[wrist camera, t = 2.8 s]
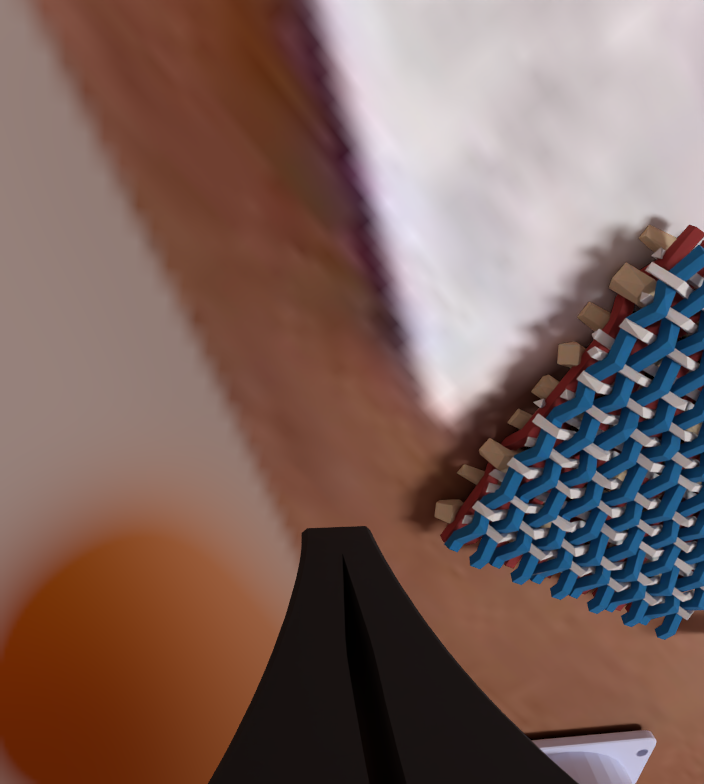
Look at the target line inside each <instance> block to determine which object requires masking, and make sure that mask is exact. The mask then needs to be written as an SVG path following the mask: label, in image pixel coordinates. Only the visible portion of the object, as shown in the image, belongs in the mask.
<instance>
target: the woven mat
mask: <svg viewBox="0 0 704 784" xmlns="http://www.w3.org/2000/svg"><path fill="white" fill-rule="evenodd" d="M703 237H704V232H702V231H701V230H700V229H698V228H697V227H695V226H692V225H689V226H688V227H687V228H686V229H685V230H684V231H683V232H682V233H681V235H680V236H679V237H678V238H676V237H674V236H672V235H670V234H668V233H666V232H663V231H661V230H659V229H657V228H655V227H653V226H651V225H649V226H648V227H647V228H646V229H645V231H644V232H643V233H642V235H641V236H640V237H639V238H638V239H639V240H640V241H642V242H643V243H644V244H645V245H646V246H647V247H648V248H649V249H651V250H652V251H653V252H654V254H652V255H651V256H652V257H653V258H655V259H656V260H655V261H654V262H651V263H650V264H649V265H647V266H646V267H644V268H642V269H641V270H638V269H636V268H635V267H633V266H631V265H630V264H628V263H627V262H626V263H625V264H624V265H623V266H622V268H621V269H620V270H619V271H618V272H617V273H616V274H615V275H614V277H613V278H612V280H611V283H610V286H609V289H611V290H613V291H614V292H616V293H618V294H617V296H616V298H615V301H614V305H613V308H612V312H611V313H610V312H608V311H606V310H604V309H603V308H601V307H599V306H597V305H595V304H593V303H591V302H588V304H587V305H586V306H585V307H584V309H583V310H582V311H581V313H580V314H579V315H578V317H577V318H578V319H580V320H581V321H582V322H583V323H584V324H586V325H587V326H588V327H589V328H590V329H592V330H593V331H595V332H594V333H592V336H593V338H594V340H593V341H592V343H591V344H590V345H589V346H588V347H587V349H586V348H585V347H583V346H581V345H580V344H578V343H577V342H569V343H563V344H559V348H558V360H557V364H560V365H563V366H566V367H569V368H571V369H570V370H569V371H568V372H567V373H566V375H565V376H564V377H563V378H562V380H561V381H560V382H559V381H558V380H556V379H555V378H553V377H552V376H550V375H547V376H543V377H542V378H541V379H540V381H539V382H538V383H537V385H536V386H535V387H534V388H533V390H532V391H531V392H532V393H533V394H535V395H536V396H538V397H539V398H540V399H541V400H538V401H536V402H533V403H535V404H536V405H537V406H538V407H539V408H538V409H537V411H536V412H535V413H534V414H533V415H531V414H529V413H527V412H525V411H523V410H520V409H517V411H516V412H515V413H514V414H513V416H512V417H511V418H510V420H509V421H508V422H507V423H509V424H510V425H512V426H514V427H516V428H518V429H520V430H519V431H517V432H515V433H513V434H511V435H509V436H507V437H506V438H505V439H504V440H503V441H502V442H501V444H499V443H498V442H496V441H494V440H493V439H491V438H489V439H488V440H487V441H486V442H485V443H484V445H483V446H482V447H481V448H480V449H479V453H480V455H481V456H483V457H484V458H485V459H486V460H487V461H488V463H487V467H486V470H485V471H483V470H480V469H477V468H474V467H471V466H468V465H465V464H464V465H463V466H462V467H461V468H460V470H459V471H458V472H457V474H459V475H460V476H462V477H464V478H465V479H467V480H469V481H471V482H472V483H474V484H476V487H475V488H474V490H473V491H472V492H471V494H470V495H469V496H468V498H467V499H466V501H465V502H462V501H461V500H459V499H449V500H439V501H438V502H436V508H435V516H434V517H436V518H438V519H440V520H443V521H445V522H447V523H449V524H448V525H447V527H446V528H445V530H444V531H443V532H442V534H441V535H440V536H441V538H442V540H443V542H445V545H446V546H447V547H448V548H449V549H450V550H453V551H456V552H458V551H459V549H460V548H461V547H462V546H463V544H467V545H470V544H474V543H477V542H478V541H479V540H480V539H481V538H482V539H481V541H480V544H479V546H478V549H477V551H476V552H475V553H474V554H473V555H471V556H470V557H469V558H470V566H472V567H475V568H478V569H481V568H482V567H484V566H485V565H486V564H487V563H488V562H489V563H490V564H491V565H492V566H494V567H497V568H499V569H500V568H501V566H502V565H503V563H504V564H505V566H508V567H511V568H514V567H515V565H516V564H517V563H518V561H519V560H520V559H521V557H522V559H521V561H520V564H519V566H518V568H517V569H516V570H514V571H513V572H512V573H511V578H512V582H514V583H517V584H520V585H522V584H523V583H525V582H526V581H527V580H529V579H530V580H531V581H533V582H535V583H538V584H540V583H541V582H542V581H543V579H544V578H545V577H548V578H551V575H553V574H556V573H559V572H562V573H561V575H560V577H559V580H558V582H557V584H556V585H554V586H553V587H552V588H550V590H551V595H552V597H554V598H557V599H560V600H561V599H563V598H564V597H566V596H567V595H570V596H571V597H574V598H576V599H577V598H578V597H579V596H580V595H581V594H586V593H587V592H588V591H590V590H591V589H593V588H597V587H598V588H597V589H596V590H595V591H594V592H593V593H592V594H593V596H594V598H593V599H592V600H590V601H589V602H587V604H588V609H589V611H590V612H593V613H596V614H598V613H600V612H601V611H603V610H604V609H605V610H607V611H610V612H613V611H614V610H615V609H616V610H618V611H621V609H622V608H623V607H624V606H625V605H626V603H630V602H631V603H630V604H629V605H628V606H627V607H626V608H625V609H626V610H627V613H625V614H624V615H622V616H621V617H622V620H623V623H624V625H627V626H630V627H632V626H634V625H636V624H638V623H641V624H643V625H647V624H648V622H649V621H650V620H651V619H654V618H658V617H662V616H665V618H664V621H663V623H662V625H661V626H659V627H657V628H656V629H655V631H656V634H657V637H658V638H661V639H664V640H665V639H667V638H669V637H671V636H673V635H674V634H675V633H676V631H677V629H678V626H679V624H680V622H681V620H682V617H683V618H684V619H686V620H688V619H689V618H690V616H691V615H692V614H693V612H694V611H695V610H704V240H703V241H702V243H701V244H700V245H698V246H697V247H696V248H695V249H693V248H694V247H695V246H696V245H697V244H698V242H699V241H700V240H701V239H702V238H703ZM692 249H693V250H692ZM656 281H657V282H656ZM694 287H695V288H696V290H695V291H694V290H693V289H694ZM635 304H636V306H638V307H639V308H641V309H640V310H638V311H636V312H635V313H633V314H632V312H633V309H634V305H635ZM682 336H683V337H685V338H684V339H682V340H680V341H678V342H677V339H679V338H680V337H682ZM608 352H609V353H608ZM701 357H702V358H701ZM700 358H701V362H700V364H699V363H697V362H698V360H699V359H700ZM645 372H647V373H649V374H650V375H652V376H654V379H653V380H651V379H649V378H647V377H645V376H644V375H645ZM601 394H607V396H604V397H601V398H598V399H595V400H594V398H595V397H597V396H599V395H601ZM620 413H621V414H620ZM647 418H648V419H649V420H646V419H647ZM645 420H646V421H645ZM571 425H572V426H574V427H576V428H578V429H579V431H578V432H575V431H571V430H569V429H570V426H571ZM681 439H682V440H684V441H687V442H686V443H683V444H680V441H681ZM524 446H528V447H532V448H530V449H527V450H525V451H524V450H522V449H520V448H522V447H524ZM663 464H664V465H663ZM573 468H576V469H574V470H572V469H573ZM501 471H502V472H501ZM604 487H605V488H608V489H611V490H612V489H617V490H614V491H610V492H608V491H606V490H603V489H604ZM569 498H571V499H573V498H577V499H574V500H572V501H569V502H567V500H568V499H569ZM643 507H645V508H646V509H648V510H645V509H643ZM591 510H592V511H591ZM590 511H591V512H590ZM681 526H682V527H681ZM539 527H542V528H539ZM624 530H628V531H624ZM590 540H591V542H590V544H588V545H583V544H585V543H586V542H588V541H590ZM508 541H509V542H511V543H508V544H506V543H507V542H508ZM505 544H506V545H505ZM607 547H609V548H608V549H606V548H607ZM681 549H682V551H681ZM680 551H681V552H680ZM582 576H583V577H582ZM652 576H655V577H652ZM649 577H652V578H649ZM692 589H695V591H694V590H692ZM688 590H691V591H688ZM615 591H617V592H615ZM684 591H688V592H685V593H682V592H684ZM686 610H690V611H686Z"/></svg>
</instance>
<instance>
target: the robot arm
mask: <svg viewBox="0 0 704 784" xmlns="http://www.w3.org/2000/svg"><path fill="white" fill-rule="evenodd" d="M655 745H656V739H655V738H654V736H653V734H652V733H651V732H650V731H648V730H638V731H627V732H616V733H606V734H595V735H584V736H573V737H562V738H551V739H540V740H530V739H529V738H528V737H527V736H526V735H525V734H524V733H523V732H522V731H521V730H520V729H519V728H518V727H517V726H516V725H515V724H514V723H513V722H512V721H511V720H510V719H509V718H508V717H507V716H506V715H504V714H503V713H502V711H501V710H500V709H499V708H498V707H497V706H496V705H495V704H494V703H493V702H492V701H491V700H490V699H489V698H488V697H487V695H486V694H485V693H484V692H483V691H482V690H481V689H480V688H479V687H478V686H477V685H476V683H475V682H474V681H473V680H472V679H471V678H470V677H469V675H468V674H467V673H466V672H465V671H464V670H463V669H462V667H461V666H460V665H459V664H458V663H457V661H456V660H455V659H454V658H453V657H452V655H451V654H450V653H449V652H448V650H447V649H446V648H445V647H444V645H443V644H442V643H441V641H440V640H439V639H438V637H437V636H436V635H435V633H434V632H433V631H432V630H431V628H430V627H429V626H428V624H427V623H426V621H425V620H424V619H423V617H422V616H421V614H420V613H419V612H418V610H417V609H416V607H415V606H414V604H413V603H412V601H411V600H410V598H409V597H408V595H407V594H406V592H405V591H404V589H403V588H402V586H401V585H400V583H399V581H398V580H397V578H396V577H395V575H394V573H393V572H392V570H391V568H390V567H389V565H388V563H387V562H386V560H385V558H384V556H383V555H382V553H381V551H380V549H379V547H378V545H377V543H376V541H375V539H374V537H373V535H372V533H371V531H370V530H369V529H368V528H367V527H366V526H357V527H332V528H307V529H306V530H305V531H304V532H302V548H301V557H300V563H299V568H298V572H297V577H296V581H295V585H294V588H293V592H292V595H291V599H290V602H289V606H288V609H287V613H286V616H285V619H284V622H283V624H282V627H281V630H280V633H279V636H278V638H277V641H276V644H275V646H274V649H273V652H272V654H271V657H270V659H269V662H268V664H267V667H266V669H265V671H264V674H263V676H262V679H261V681H260V683H259V685H258V687H257V690H256V692H255V694H254V697H253V699H252V701H251V703H250V705H249V707H248V709H247V711H246V713H245V715H244V717H243V719H242V721H241V723H240V725H239V727H238V729H237V732H236V734H235V735H234V738H233V739H232V741H231V743H230V745H229V747H228V749H227V751H226V753H225V755H224V757H223V758H222V760H221V762H220V764H219V765H218V767H217V769H216V771H215V772H214V774H213V776H212V778H211V779H210V781H209V783H208V784H635V783H636V781H637V779H638V777H639V776H640V774H641V772H642V770H643V768H644V766H645V764H646V762H647V760H648V758H649V757H650V755H651V753H652V751H653V749H654V747H655Z"/></svg>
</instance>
